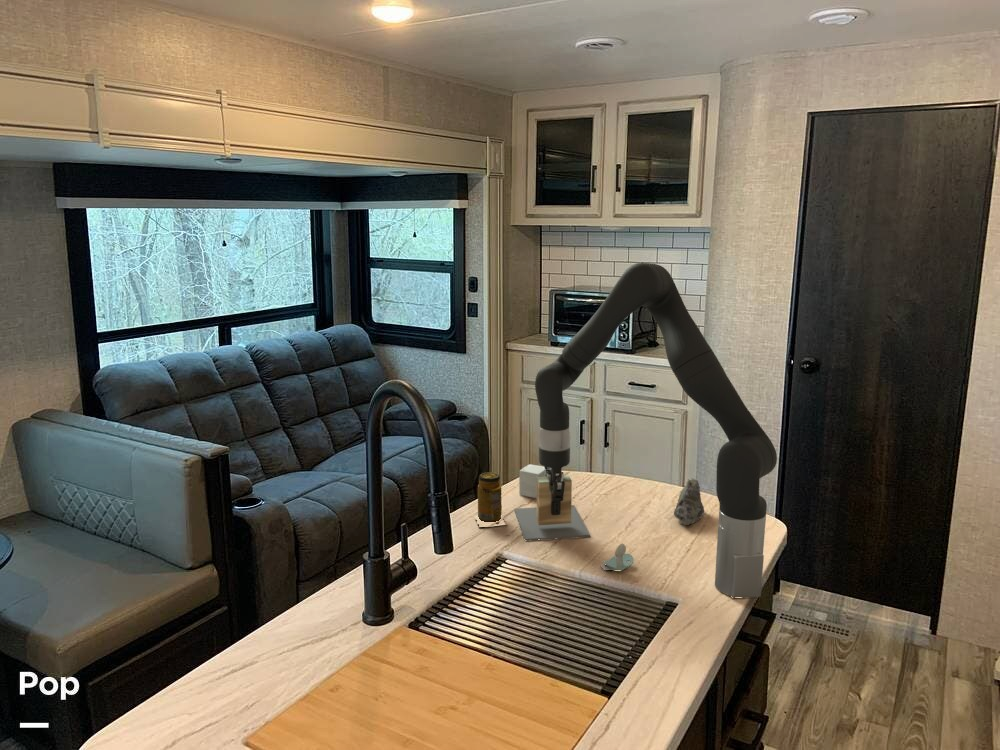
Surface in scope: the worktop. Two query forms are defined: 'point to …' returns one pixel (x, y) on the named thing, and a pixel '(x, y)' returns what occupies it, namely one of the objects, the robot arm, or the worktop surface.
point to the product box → (530, 480)
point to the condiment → (489, 497)
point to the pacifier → (618, 560)
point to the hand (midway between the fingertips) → (554, 510)
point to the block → (545, 503)
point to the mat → (549, 526)
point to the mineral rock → (689, 503)
